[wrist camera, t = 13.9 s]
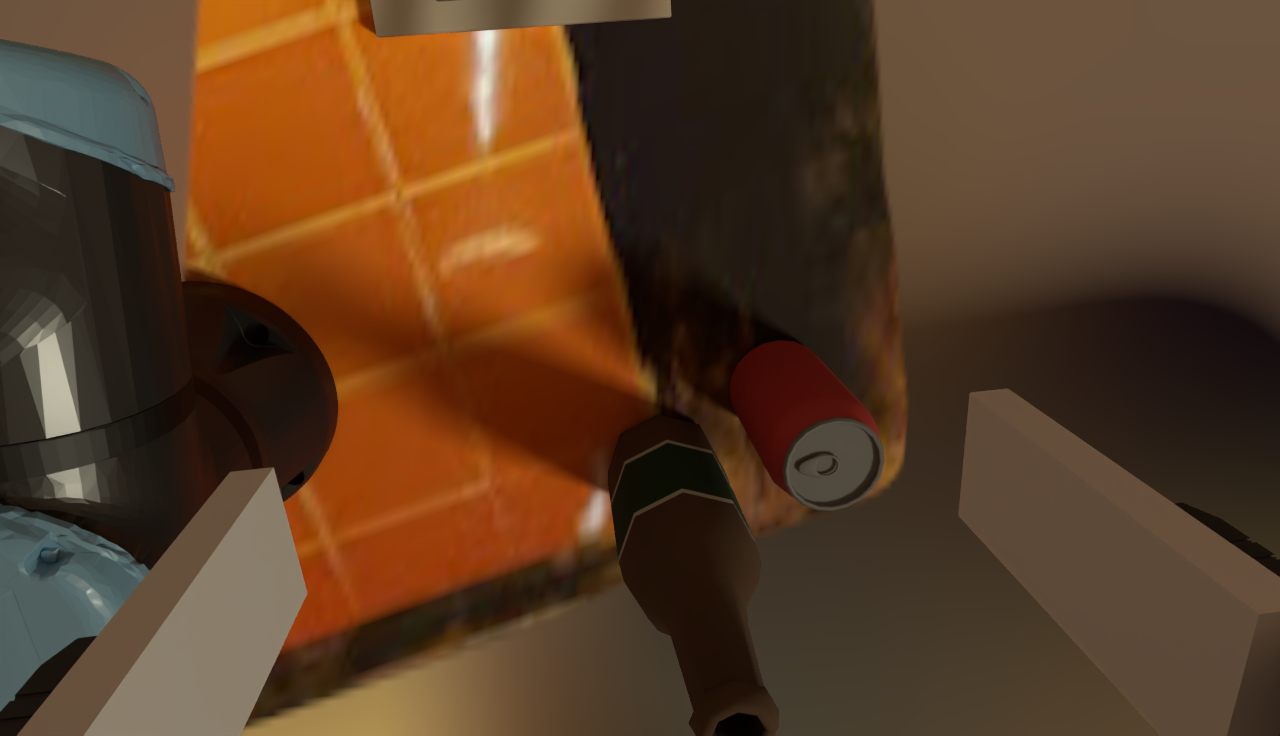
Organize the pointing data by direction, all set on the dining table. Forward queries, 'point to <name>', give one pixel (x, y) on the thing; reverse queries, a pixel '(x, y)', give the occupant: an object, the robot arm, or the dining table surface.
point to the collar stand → (504, 14)
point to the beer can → (806, 426)
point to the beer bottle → (692, 569)
